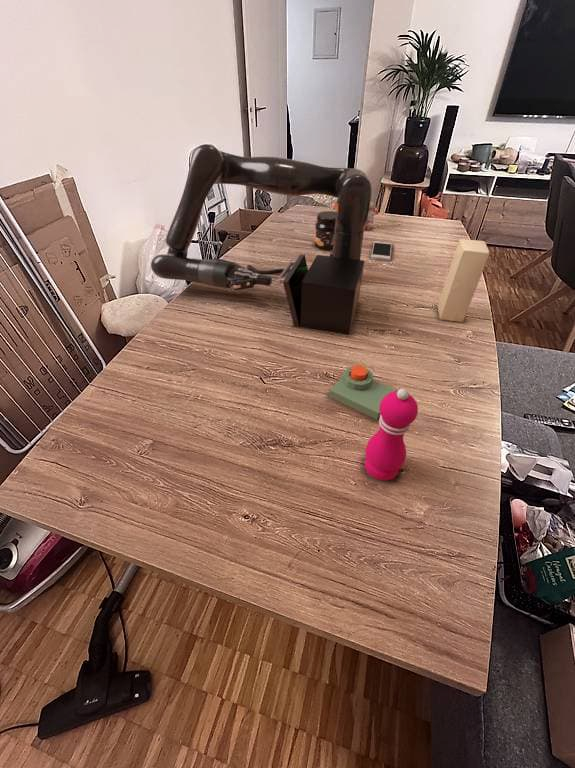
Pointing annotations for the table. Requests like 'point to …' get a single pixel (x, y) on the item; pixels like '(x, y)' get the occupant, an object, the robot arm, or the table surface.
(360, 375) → the button
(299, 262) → the oven door
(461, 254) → the tall wooden block
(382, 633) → the table surface
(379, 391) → the switch block
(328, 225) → the supplement container
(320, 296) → the oven
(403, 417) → the pepper mill
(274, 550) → the table surface
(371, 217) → the doll family
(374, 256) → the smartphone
